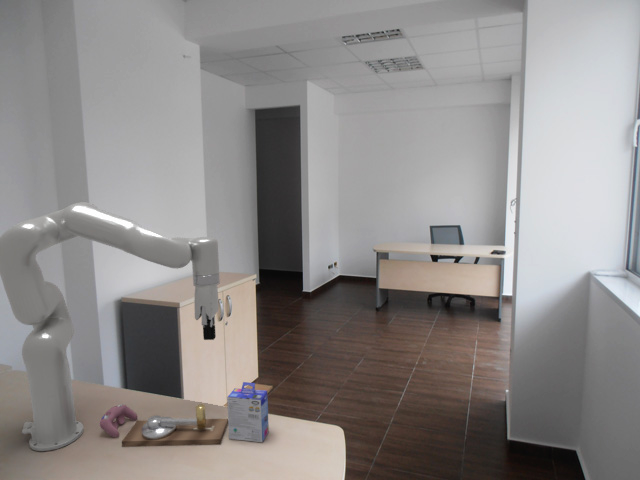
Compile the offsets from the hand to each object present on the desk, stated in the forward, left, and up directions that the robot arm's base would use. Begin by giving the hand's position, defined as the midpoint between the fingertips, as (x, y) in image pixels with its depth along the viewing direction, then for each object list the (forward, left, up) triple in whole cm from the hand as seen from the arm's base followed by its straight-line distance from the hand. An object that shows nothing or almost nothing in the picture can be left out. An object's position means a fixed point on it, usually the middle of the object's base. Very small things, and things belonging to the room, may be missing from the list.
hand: (209, 338), depth 125 cm
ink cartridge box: (+13, -15, -22) cm, 30 cm away
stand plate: (-7, -14, -22) cm, 27 cm away
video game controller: (-24, -10, -22) cm, 35 cm away
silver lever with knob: (-7, -14, -20) cm, 26 cm away
